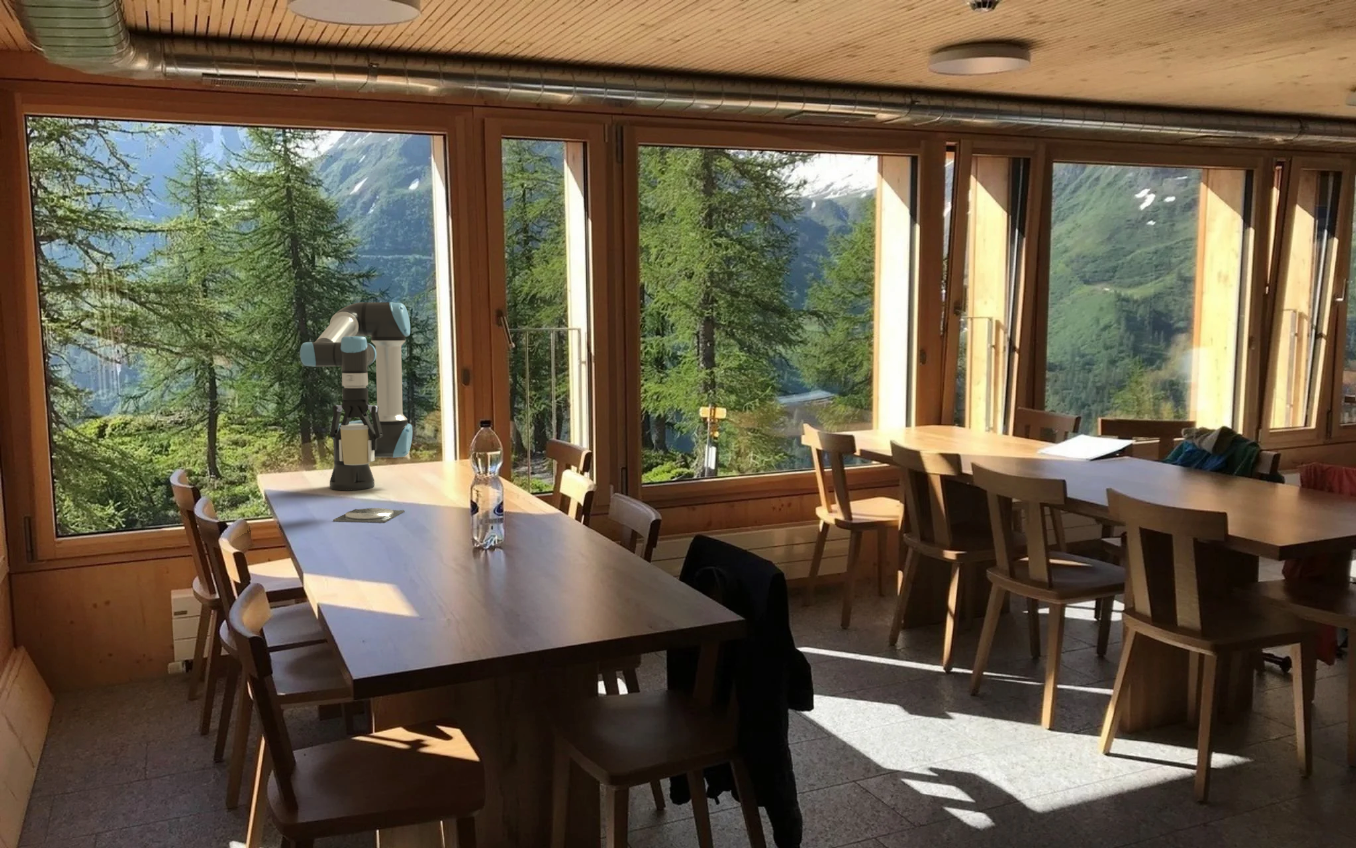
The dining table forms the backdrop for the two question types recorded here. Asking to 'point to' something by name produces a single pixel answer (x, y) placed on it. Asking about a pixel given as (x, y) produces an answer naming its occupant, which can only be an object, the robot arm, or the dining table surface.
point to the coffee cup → (355, 444)
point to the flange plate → (369, 515)
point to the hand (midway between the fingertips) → (357, 460)
